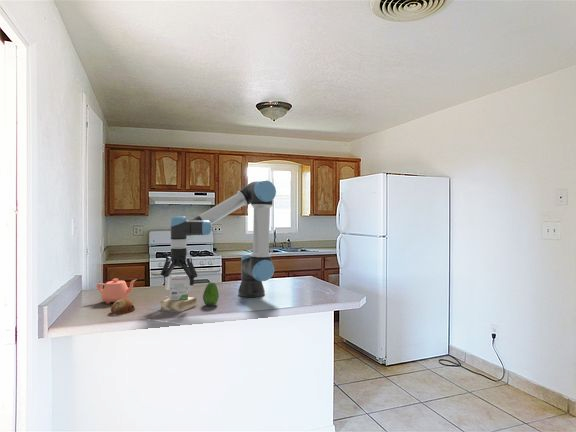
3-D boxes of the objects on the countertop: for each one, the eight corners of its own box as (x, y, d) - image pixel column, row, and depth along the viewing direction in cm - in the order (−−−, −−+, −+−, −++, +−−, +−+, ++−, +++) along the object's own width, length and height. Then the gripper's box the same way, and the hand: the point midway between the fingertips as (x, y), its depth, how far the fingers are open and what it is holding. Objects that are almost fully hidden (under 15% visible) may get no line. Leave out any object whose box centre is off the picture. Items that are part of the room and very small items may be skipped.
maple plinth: (196, 305, 193) (196, 297, 192) (181, 311, 181) (181, 303, 181) (176, 303, 197) (176, 295, 197) (160, 309, 186) (160, 300, 186)
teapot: (134, 303, 198) (134, 280, 198) (92, 305, 194) (92, 281, 194) (139, 298, 211) (139, 276, 211) (100, 299, 208) (100, 277, 207)
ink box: (187, 297, 193) (187, 274, 193) (188, 299, 188) (188, 275, 188) (169, 298, 190) (169, 275, 190) (169, 301, 186) (169, 276, 185)
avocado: (219, 307, 191) (219, 283, 191) (203, 308, 189) (203, 284, 189) (217, 303, 199) (217, 280, 199) (202, 304, 197) (202, 281, 197)
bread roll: (119, 316, 187) (112, 302, 187) (139, 307, 188) (132, 292, 188) (112, 322, 177) (104, 307, 177) (132, 312, 178) (125, 297, 178)
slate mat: (198, 305, 194) (198, 304, 194) (178, 313, 180) (178, 312, 180) (169, 302, 201) (169, 301, 201) (148, 309, 186) (148, 308, 186)
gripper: (204, 248, 188) (204, 291, 188) (163, 246, 197) (163, 287, 197) (195, 249, 181) (195, 294, 181) (153, 247, 190) (153, 290, 190)
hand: (178, 290), depth 189 cm, fingers open, 13 cm apart
